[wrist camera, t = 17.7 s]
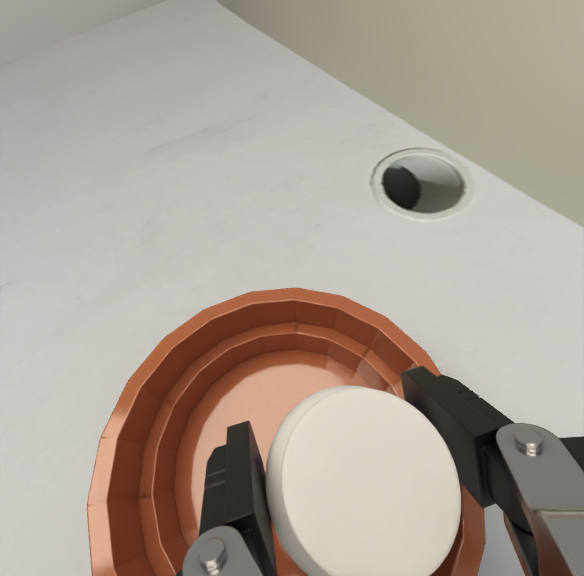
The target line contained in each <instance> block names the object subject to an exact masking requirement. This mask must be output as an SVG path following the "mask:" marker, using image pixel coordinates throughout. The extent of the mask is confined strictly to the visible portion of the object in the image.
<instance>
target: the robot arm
mask: <svg viewBox="0 0 584 576" xmlns="http://www.w3.org/2000/svg"><path fill="white" fill-rule="evenodd" d="M401 381H402V387H403V393H404V398H405V401H406V402H408V403H409V404H411V405H412V406H414V407H415V408H416V409H417V410H419V411H420V412H421V413H422V414H423V415H424V416H425V417H426V418H427V419H428V420H429V421H430V422H431V423H432V425H433V426H434V427H435V428H436V430H437V431H438V432H439V434H440V435H441V437H442V438H443V440H444V441H445V443H446V445H447V447H448V449H449V451H450V453H451V456H452V458H453V460H454V463H455V467H456V470H457V473H458V478H459V481H460V482H461V484H462V485H463V486H464V487H465V488H466V490H467V491H468V492H469V493H470V494H471V496H472V497H473V498H474V499H475V500H476V501H477V503H478V504H479V505H480V506H481V507H482V508H485V507H488V506H490V505H493V504H497V505H498V506H499V507H500V508H501V509H502V510H503V515H504V522H505V526H506V528H507V531H508V533H509V536H510V538H511V541H512V543H513V546H514V548H515V551H516V553H517V556H518V559H519V561H520V564H521V566H522V569H523V571H524V574H525V576H584V437H570V438H558V437H557V436H555V435H554V434H553V433H551V432H550V431H548V430H546V429H544V428H541V427H539V426H535V425H531V424H525V423H514V422H513V421H511V420H510V419H509V418H507V417H506V416H505V415H503V414H502V413H501V412H499V411H498V410H497V409H495V408H494V407H493V406H491V405H490V404H489V403H487V402H486V401H485V400H483V399H482V398H479V396H478V395H477V394H475V393H474V392H473V391H470V390H469V388H467V387H466V386H465V385H463V384H462V383H461V382H459V381H458V380H456V379H453V378H450V377H447V376H445V375H439V376H436V375H434V374H433V373H432V372H431V371H429V370H428V369H427V368H426V367H424V366H418V367H415V368H412V369H409V370H406V371H403V372H401ZM205 476H206V478H205V483H204V492H203V501H202V510H201V519H200V528H199V537H198V539H197V540H196V541H195V542H194V543H193V544H192V545H191V547H190V548H189V550H188V552H187V554H186V556H185V558H184V561H183V566H182V569H181V570H180V571H179V572H178V573H177V574H176V575H175V576H278V575H277V566H276V558H275V549H274V541H273V533H272V524H271V518H270V514H269V510H268V506H267V500H266V492H265V480H266V475H265V470H264V465H263V461H262V458H261V455H260V451H259V448H258V445H257V442H256V439H255V436H254V433H253V429H252V426H251V424H250V421H249V420H248V421H245V422H242V423H238V424H235V425H232V426H229V427H227V439H226V445H222V446H219V447H216V448H214V450H213V452H212V454H211V455H210V457H209V459H208V461H207V465H206V474H205Z"/></svg>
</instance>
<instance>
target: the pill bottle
mask: <svg viewBox="0 0 584 576" xmlns="http://www.w3.org/2000/svg"><path fill="white" fill-rule="evenodd" d="M265 492H266V500H267V506H268V510H269V514H270V518H271V521H272V524H273V527H274V529H275V532H276V534H277V536H278V538H279V540H280V542H281V544H282V545H283V547H284V549H285V550H286V552H287V553H288V555H289V556H290V557H291V558H292V560H293V561H294V562H295V563H296V564H297V565H298V566H299V567H300V568H301V569H302V570H303V571H304V572H305V573H306V574H307V575H308V576H430V575H431V574H433V573H434V572H435V571H436V570H437V568H438V567H439V566H440V565H441V564H442V562H443V561H444V559H445V558H446V556H447V555H448V554H449V552H450V550H451V548H452V545H453V543H454V540H455V537H456V534H457V532H458V527H459V522H460V515H461V490H460V484H459V478H458V473H457V470H456V467H455V463H454V460H453V458H452V456H451V453H450V451H449V449H448V447H447V445H446V443H445V441H444V440H443V438H442V437H441V435H440V434H439V432H438V431H437V430H436V428H435V427H434V426H433V425H432V423H431V422H430V421H429V420H428V419H427V418H426V417H425V416H424V415H423V414H422V413H421V412H420V411H419V410H417V409H416V408H415V407H414V406H412V405H411V404H409V403H408V402H406V401H405V400H403V399H401V398H399V397H397V396H395V395H393V394H390V393H387V392H384V391H380V390H376V389H370V388H367V387H362V386H350V385H344V386H336V387H331V388H326V389H324V390H320V391H318V392H316V393H314V394H312V395H310V396H309V397H307V398H305V399H304V400H303V401H301V402H300V403H299V404H298V405H297V406H295V407H294V408H293V409H292V410H291V411H290V412H289V414H288V415H287V416H286V417H285V419H284V420H283V422H282V423H281V425H280V426H279V428H278V430H277V432H276V434H275V436H274V438H273V441H272V444H271V447H270V450H269V454H268V458H267V465H266V480H265Z"/></svg>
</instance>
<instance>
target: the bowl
mask: <svg viewBox="0 0 584 576" xmlns="http://www.w3.org/2000/svg"><path fill="white" fill-rule="evenodd" d="M418 366H424V367H426V368H427V369H428V370H429V371H431V372H432V373H433V374H434V375H436V376H439V375H441V373H440V372H439V370H438V369H437V367H436V366H435V364H434V363H433V361H432V360H431V358H430V357H429V355H428V354H427V353H426V351H424V350H423V349H422V348H421V347H420V346H419V345H418V344H416V343H415V342H414V341H413V340H412V339H411V338H410V337H408V336H407V335H406V334H405V333H404V332H403V331H402V330H401V329H399V328H398V327H397V326H396V325H395V324H394V323H393V322H391V321H390V320H389V319H388V318H386V317H385V316H383V315H381V314H379V313H377V312H375V311H373V310H371V309H369V308H367V307H365V306H362V305H360V304H358V303H356V302H354V301H352V300H350V299H348V298H346V297H344V296H340V295H335V294H329V293H324V292H318V291H313V290H307V289H302V288H286V289H275V290H265V291H254V292H250V293H246V294H243V295H240V296H238V297H235V298H233V299H230V300H227V301H225V302H222V303H219V304H217V305H214V306H211V307H209V308H206V310H205V309H204V310H202V311H201V312H199V313H198V314H197V315H195V316H194V317H192V318H191V319H190V320H188V321H187V322H185V323H184V324H183V325H181V326H180V327H178V328H177V329H176V330H174V331H173V332H171V333H170V334H169V335H167V336H166V337H164V339H162V340H161V342H160V343H159V344H158V345H157V346H156V348H155V349H154V350H153V351H152V352H151V354H150V355H149V356H148V357H147V358H146V360H145V361H144V362H143V363H142V364H141V366H140V367H139V368H138V369H137V370H136V372H135V373H134V374H133V375H132V376H131V378H130V379H129V380H128V382H127V383H126V385H125V388H124V390H123V392H122V394H121V396H120V398H119V400H118V402H117V404H116V406H115V408H114V410H113V413H112V415H111V417H110V419H109V421H108V423H107V425H106V427H105V429H104V431H103V433H102V435H101V438H100V441H99V446H98V451H97V456H96V461H95V466H94V471H93V477H92V482H91V487H90V492H89V497H88V502H87V516H88V529H89V542H90V555H91V568H92V576H175V575H176V574H177V573H178V572H179V571H180V570H181V569H182V566H183V561H184V558H185V556H186V554H187V552H188V550H189V548H190V547H191V545H192V544H193V543H194V542H195V541H196V540H197V539H198V537H199V528H200V519H201V510H202V501H203V492H204V483H205V478H206V476H205V474H206V465H207V461H208V459H209V457H210V455H211V454H212V452H213V450H214V448H216V447H219V446H222V445H226V439H227V427H229V426H232V425H235V424H238V423H242V422H245V421H248V420H249V421H250V424H251V426H252V429H253V433H254V436H255V439H256V442H257V445H258V448H259V451H260V455H261V458H262V461H263V465H264V470H265V475H266V465H267V458H268V454H269V450H270V447H271V444H272V441H273V438H274V436H275V434H276V432H277V430H278V428H279V426H280V425H281V423H282V422H283V420H284V419H285V417H286V416H287V415H288V414H289V412H290V411H291V410H292V409H293V408H294V407H295V406H297V405H298V404H299V403H300V402H301V401H303V400H304V399H305V398H307V397H309V396H310V395H312V394H314V393H316V392H318V391H320V390H324V389H326V388H331V387H336V386H344V385H350V386H362V387H367V388H370V389H376V390H380V391H384V392H387V393H390V394H393V395H395V396H397V397H399V398H401V399H403V400H405V398H404V393H403V387H402V381H401V372H403V371H406V370H409V369H412V368H415V367H418ZM459 484H460V490H461V515H460V522H459V527H458V532H457V534H456V537H455V540H454V543H453V545H452V548H451V550H450V552H449V554H448V555H447V556H446V558H445V559H444V561H443V562H442V564H441V565H440V566H439V567H438V568H437V570H436V571H435V572H434V573H433V574H431V575H430V576H477V574H478V571H479V567H480V563H481V559H482V555H483V551H484V544H485V522H484V508H482V507H481V506H480V505H479V504H478V503H477V501H476V500H475V499H474V498H473V497H472V496H471V494H470V493H469V492H468V491H467V490H466V488H465V487H464V486H463V485H462V484H461V482H460V481H459ZM271 524H272V521H271ZM272 533H273V541H274V549H275V558H276V566H277V575H278V576H308V575H307V574H306V573H305V572H304V571H303V570H302V569H301V568H300V567H299V566H298V565H297V564H296V563H295V562H294V561H293V560H292V558H291V557H290V556H289V555H288V553H287V552H286V550H285V549H284V547H283V545H282V544H281V542H280V540H279V538H278V536H277V534H276V532H275V529H274V527H273V524H272Z"/></svg>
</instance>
